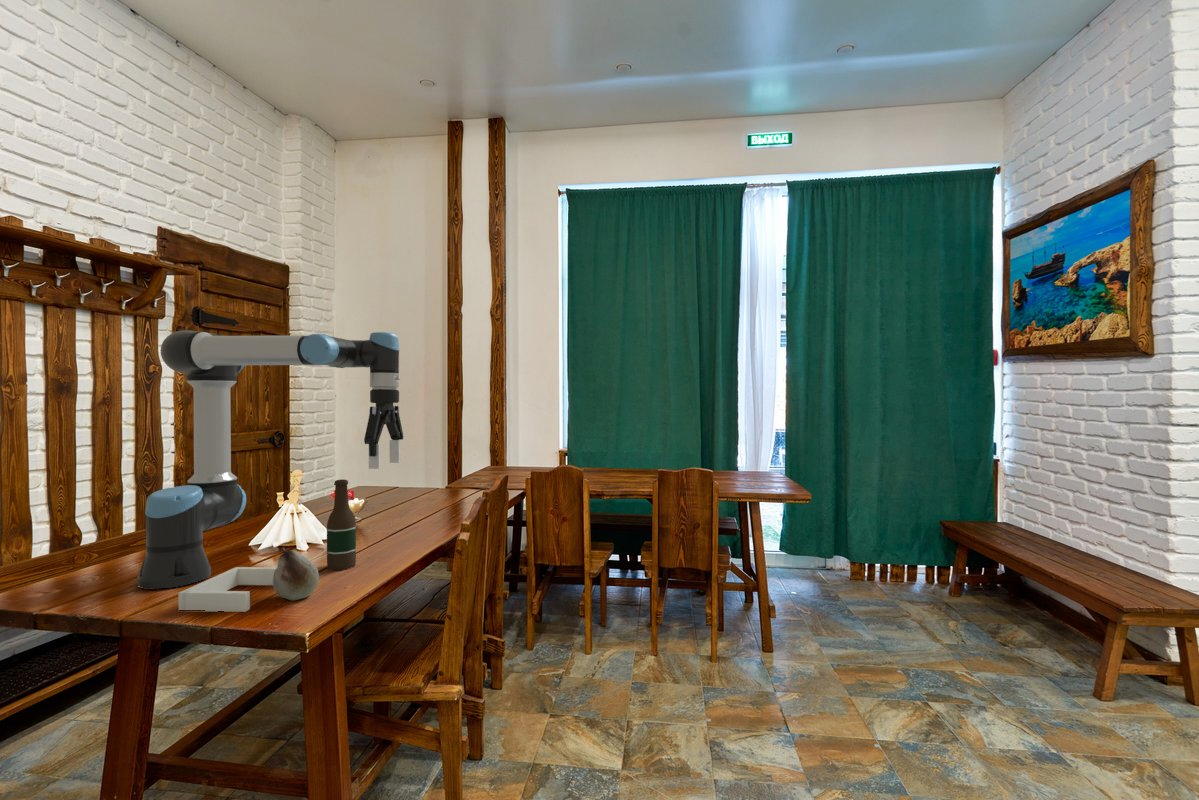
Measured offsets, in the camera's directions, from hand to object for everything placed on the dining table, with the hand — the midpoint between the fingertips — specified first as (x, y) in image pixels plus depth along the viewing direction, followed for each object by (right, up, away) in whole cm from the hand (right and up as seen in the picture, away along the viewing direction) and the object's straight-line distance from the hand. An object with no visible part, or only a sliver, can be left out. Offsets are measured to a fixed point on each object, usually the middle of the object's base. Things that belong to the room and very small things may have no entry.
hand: (385, 465), depth 158 cm
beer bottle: (-12, -28, 0) cm, 31 cm away
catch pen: (-25, -28, -23) cm, 44 cm away
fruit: (-12, -28, -24) cm, 39 cm away
